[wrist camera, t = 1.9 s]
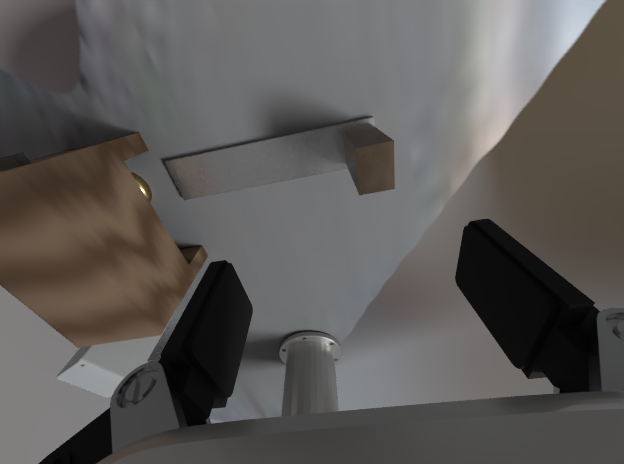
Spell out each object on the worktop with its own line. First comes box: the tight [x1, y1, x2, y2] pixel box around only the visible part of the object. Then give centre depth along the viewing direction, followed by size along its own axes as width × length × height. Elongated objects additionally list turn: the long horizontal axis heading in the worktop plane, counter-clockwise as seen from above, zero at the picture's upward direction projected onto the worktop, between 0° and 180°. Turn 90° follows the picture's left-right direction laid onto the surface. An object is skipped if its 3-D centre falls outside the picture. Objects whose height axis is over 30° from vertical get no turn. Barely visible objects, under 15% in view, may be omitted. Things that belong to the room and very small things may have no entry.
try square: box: [164, 116, 395, 200], centre depth 25 cm, size 5×24×10 cm, turn 101°
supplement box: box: [56, 312, 175, 398], centre depth 37 cm, size 7×7×13 cm
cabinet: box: [0, 133, 208, 348], centre depth 27 cm, size 19×10×14 cm, turn 12°
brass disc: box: [130, 172, 152, 203], centre depth 31 cm, size 5×5×2 cm
